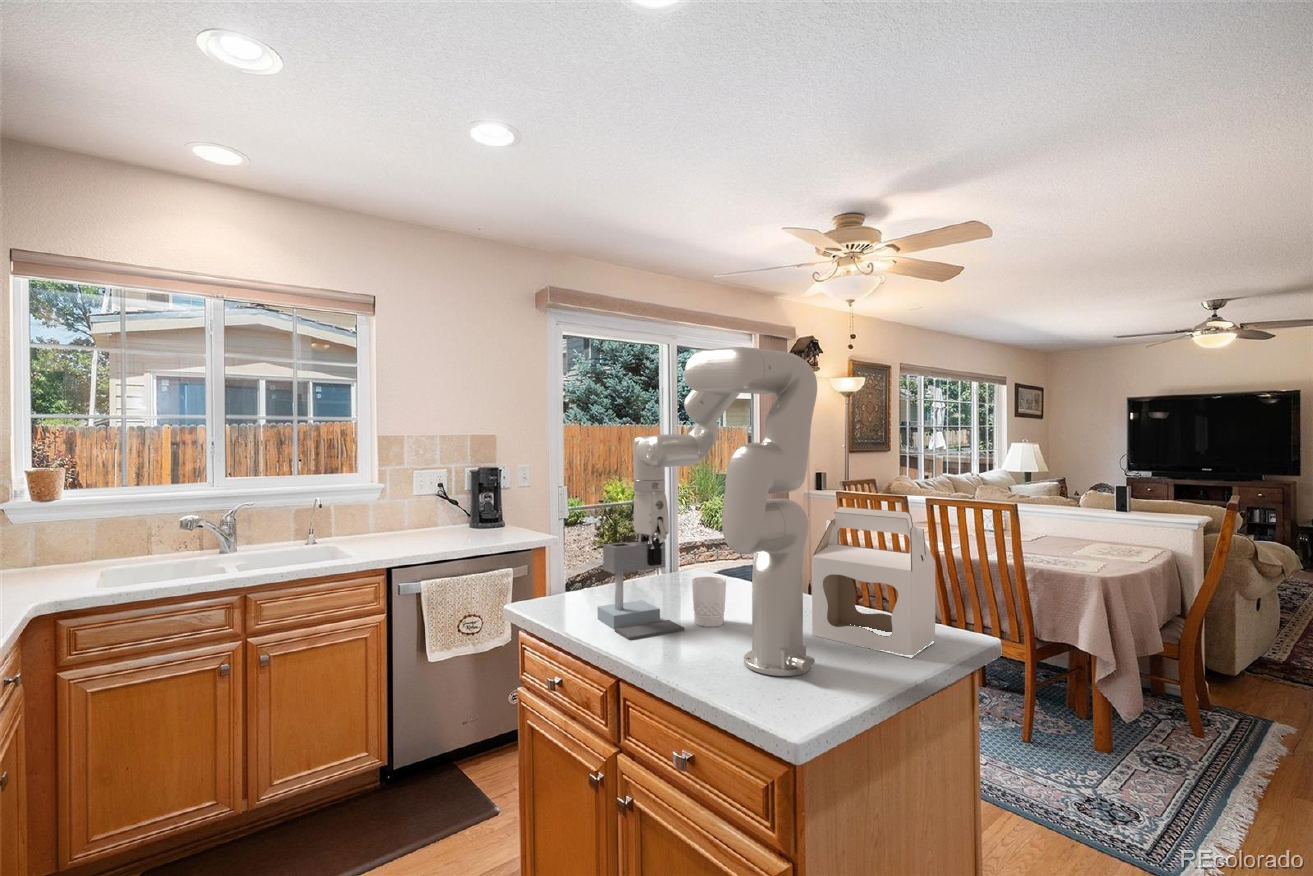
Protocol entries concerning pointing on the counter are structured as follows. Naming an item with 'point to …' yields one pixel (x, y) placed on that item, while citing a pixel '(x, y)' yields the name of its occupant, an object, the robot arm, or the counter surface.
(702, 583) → the white cup
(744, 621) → the counter surface
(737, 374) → the robot arm
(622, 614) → the grey peg stand
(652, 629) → the mat
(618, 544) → the block
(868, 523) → the gable box
